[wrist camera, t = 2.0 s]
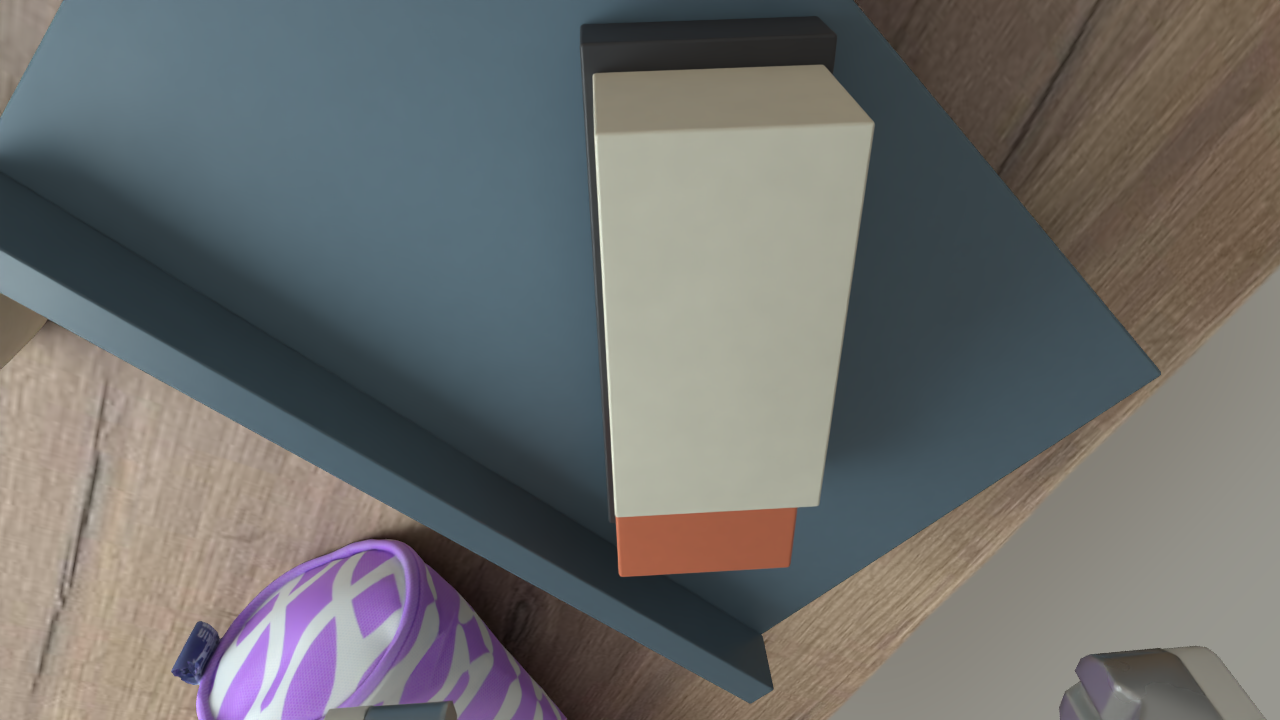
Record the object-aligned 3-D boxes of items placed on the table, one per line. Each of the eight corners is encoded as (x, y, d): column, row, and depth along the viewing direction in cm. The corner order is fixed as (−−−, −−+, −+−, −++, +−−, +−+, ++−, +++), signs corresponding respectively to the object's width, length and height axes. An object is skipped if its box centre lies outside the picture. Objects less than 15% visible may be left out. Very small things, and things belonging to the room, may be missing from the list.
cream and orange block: (580, 23, 15) (578, 99, 12) (818, 14, 16) (895, 87, 12) (607, 484, 22) (612, 627, 19) (773, 475, 23) (812, 615, 19)
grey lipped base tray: (438, -466, 16) (335, -647, 9) (1054, 265, 26) (1212, 423, 20) (101, 100, 22) (-110, 234, 15) (716, 517, 32) (750, 704, 25)
